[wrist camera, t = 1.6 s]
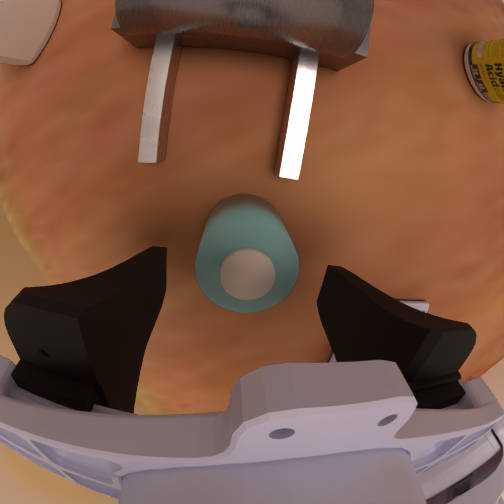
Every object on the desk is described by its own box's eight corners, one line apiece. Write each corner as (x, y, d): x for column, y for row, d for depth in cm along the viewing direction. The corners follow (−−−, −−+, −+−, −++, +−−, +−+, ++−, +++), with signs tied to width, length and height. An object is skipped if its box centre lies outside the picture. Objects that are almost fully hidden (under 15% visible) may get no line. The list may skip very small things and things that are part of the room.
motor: (319, 179, 16) (365, 209, 10) (122, 156, 15) (63, 176, 9) (344, 20, 12) (394, -19, 6) (150, -3, 10) (114, -51, 4)
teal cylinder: (274, 269, 18) (289, 323, 13) (202, 262, 18) (191, 315, 13) (289, 199, 16) (313, 233, 11) (209, 189, 16) (196, 219, 11)
